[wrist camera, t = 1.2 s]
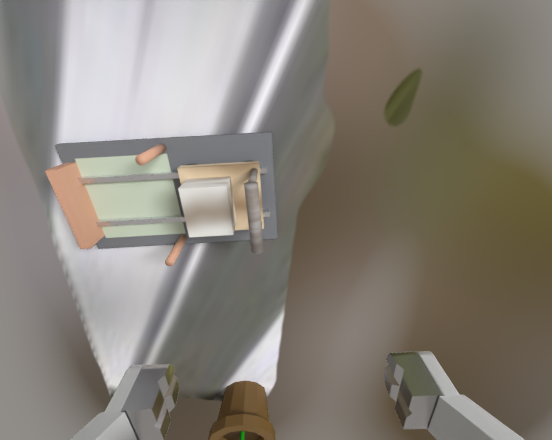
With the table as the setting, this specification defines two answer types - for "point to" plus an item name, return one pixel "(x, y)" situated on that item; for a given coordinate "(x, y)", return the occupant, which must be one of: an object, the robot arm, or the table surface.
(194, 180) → the tan box with handle
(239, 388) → the flowerpot
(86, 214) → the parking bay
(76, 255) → the table surface
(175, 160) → the dock mat
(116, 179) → the rails
